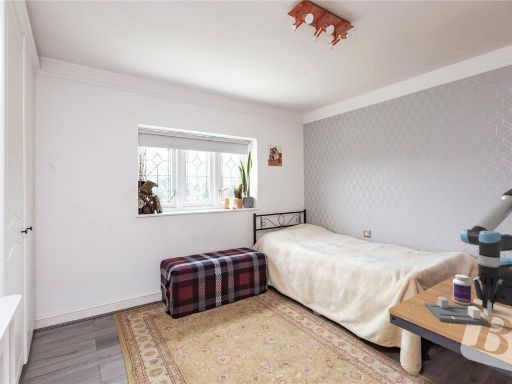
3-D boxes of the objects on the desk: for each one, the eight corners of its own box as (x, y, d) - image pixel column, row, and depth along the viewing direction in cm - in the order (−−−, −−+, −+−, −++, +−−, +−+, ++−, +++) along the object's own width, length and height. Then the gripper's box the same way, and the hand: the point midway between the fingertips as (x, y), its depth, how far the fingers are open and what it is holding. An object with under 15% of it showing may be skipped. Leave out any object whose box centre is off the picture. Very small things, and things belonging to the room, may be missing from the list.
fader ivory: (474, 314, 126) (475, 306, 126) (480, 318, 122) (480, 310, 122) (467, 314, 127) (468, 305, 127) (473, 318, 123) (473, 309, 123)
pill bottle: (474, 306, 139) (475, 279, 139) (457, 305, 141) (457, 278, 140) (465, 300, 147) (466, 274, 147) (449, 298, 148) (449, 273, 148)
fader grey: (443, 304, 137) (444, 297, 136) (448, 308, 133) (448, 300, 133) (437, 304, 137) (437, 296, 137) (441, 307, 133) (441, 299, 133)
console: (467, 308, 136) (467, 305, 136) (489, 325, 120) (489, 321, 120) (424, 305, 140) (424, 302, 140) (440, 321, 124) (440, 317, 124)
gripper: (499, 263, 125) (497, 312, 126) (468, 261, 128) (466, 310, 128) (511, 268, 118) (509, 320, 119) (478, 266, 120) (476, 318, 121)
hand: (487, 315), depth 123 cm, fingers closed
